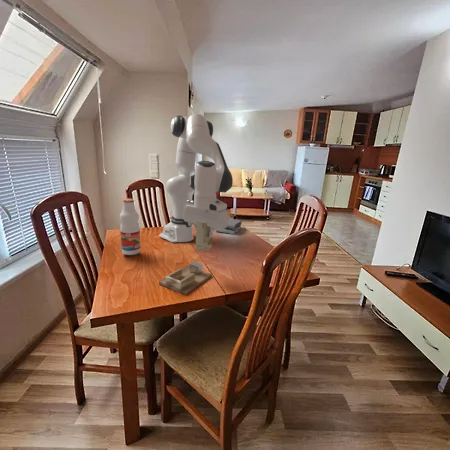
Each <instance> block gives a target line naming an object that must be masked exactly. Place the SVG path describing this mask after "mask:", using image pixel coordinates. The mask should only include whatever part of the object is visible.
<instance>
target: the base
mask: <svg viewBox="0 0 450 450" xmlns="http://www.w3.org/2000/svg"><path fill="white" fill-rule="evenodd" d="M212 277H213V274H212V273H210V272H206V271H203V270H202V272H201V273H200V274H196V273H193V272H190V271H189V265H185V266H184V267H181V268H178V269H176V270H175V271H173V272H171V273H169V274H167V275H165V276H164V278H162V279H160V280H159V281H158V285H160V286H163V287H165V288H167V289H170V290H172V291H174V292H177V293H179V294H181V295H184V296H187V295H188V294H190V293H191V292H193V290H194V291H195V289H197V288H198V287H199V286H201V285H202V284H203V283H205V282H206V281H208V280H209V279H210V278H212Z"/></svg>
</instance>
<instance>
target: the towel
mask: <svg viewBox="0 0 450 450" xmlns="http://www.w3.org/2000/svg"><path fill="white" fill-rule="evenodd" d="M241 228H242V220H238V219H233V218H230V217H228V226H227V227H226V228H225V229H223V230H221V229H216V228H215V230H214V232H215V231H216V232H219V233H225V234H230V235H235V234H236V233H238V232H239V230H240V229H241Z"/></svg>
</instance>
